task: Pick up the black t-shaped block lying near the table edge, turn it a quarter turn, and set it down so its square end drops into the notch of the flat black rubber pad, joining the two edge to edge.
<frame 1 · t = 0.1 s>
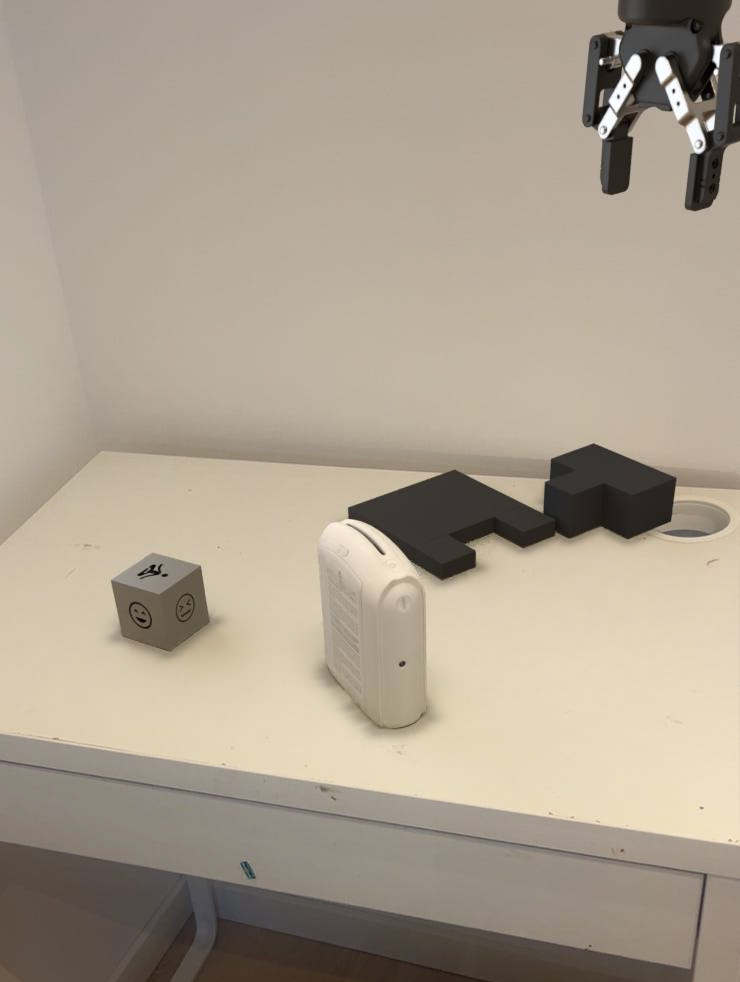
hand: (655, 200, 87), 25 cm above the table, tool pointing down, fingers open, 8 cm apart
dice cube: (166, 630, 93), on the table
black t-shaped block: (608, 511, 102), on the table
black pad: (449, 529, 102), on the table
photo printer: (375, 694, 84), on the table
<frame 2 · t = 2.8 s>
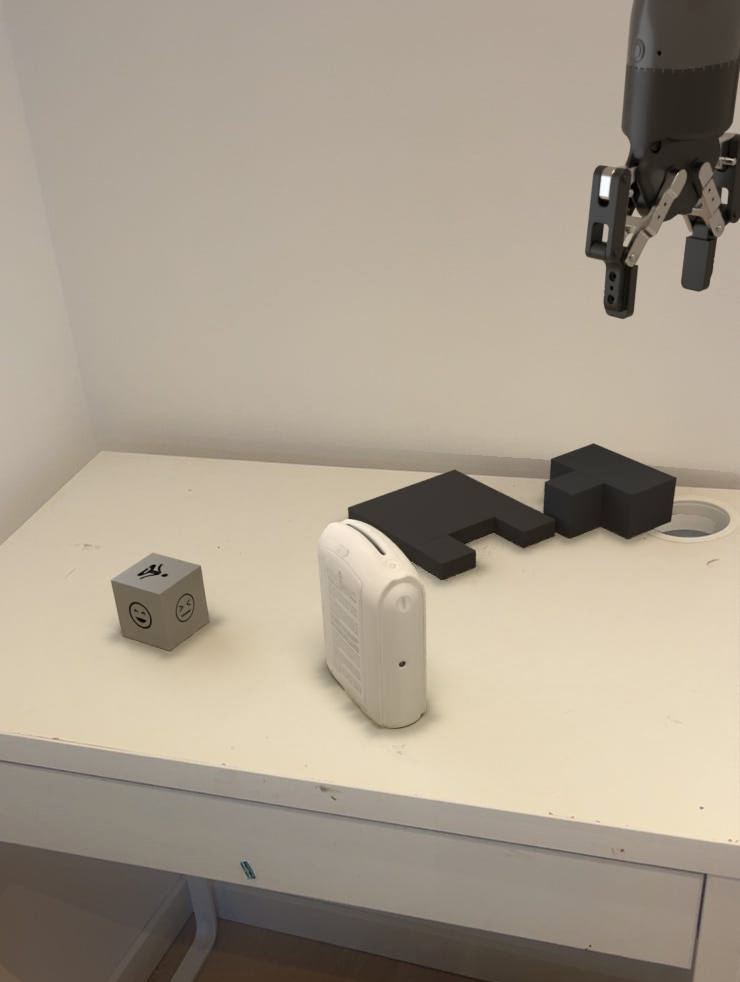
hand: (657, 302, 89), 18 cm above the table, tool pointing down, fingers open, 8 cm apart
nothing on the table moved.
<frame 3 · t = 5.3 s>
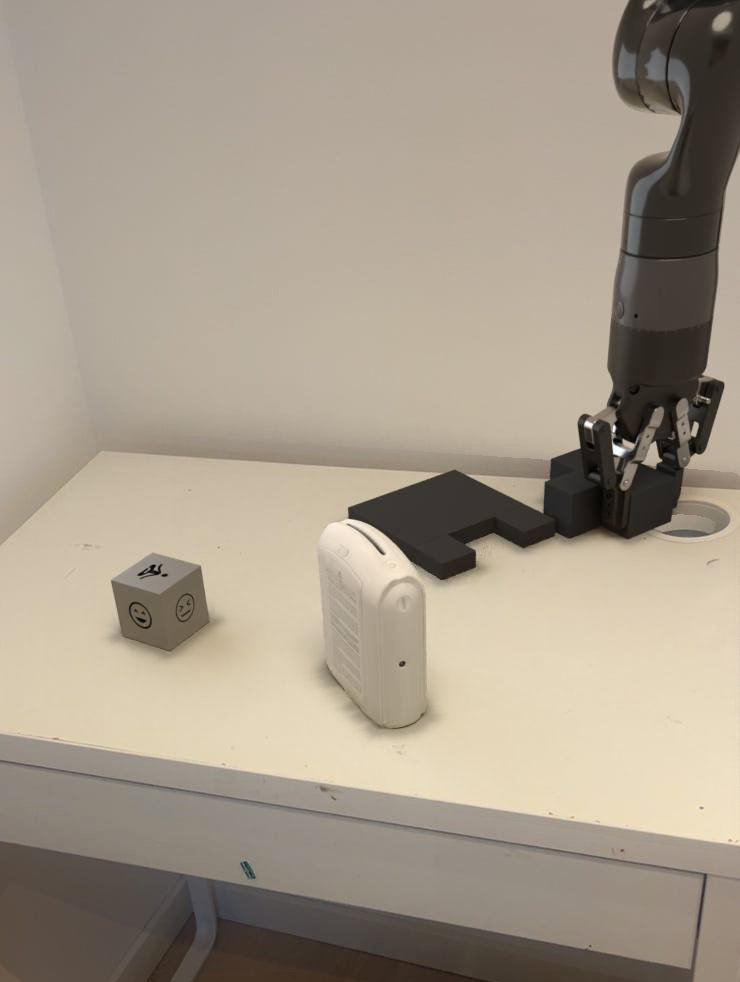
hand: (640, 515, 99), 1 cm above the table, tool pointing down, fingers closed on black t-shaped block, 5 cm apart
black t-shaped block: (608, 511, 102), on the table, touching gripper
everything else where it was.
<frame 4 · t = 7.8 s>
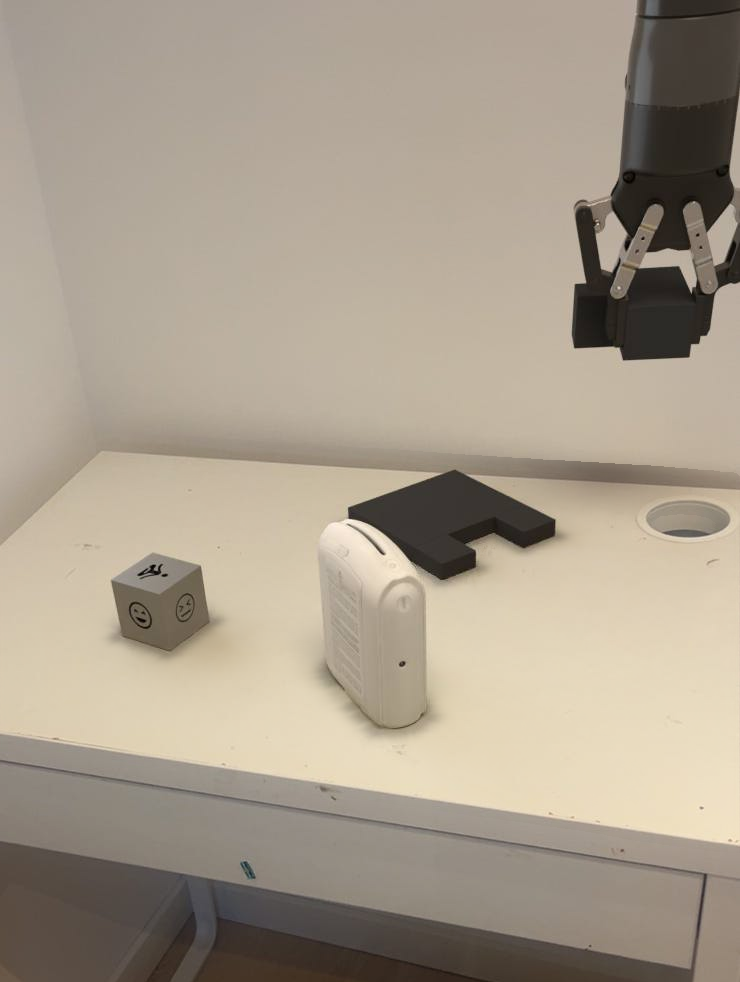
hand: (655, 341, 90), 15 cm above the table, tool pointing down, fingers closed on black t-shaped block, 5 cm apart
black t-shaped block: (649, 337, 94), point 14 cm above the table, touching gripper
everything else where it was.
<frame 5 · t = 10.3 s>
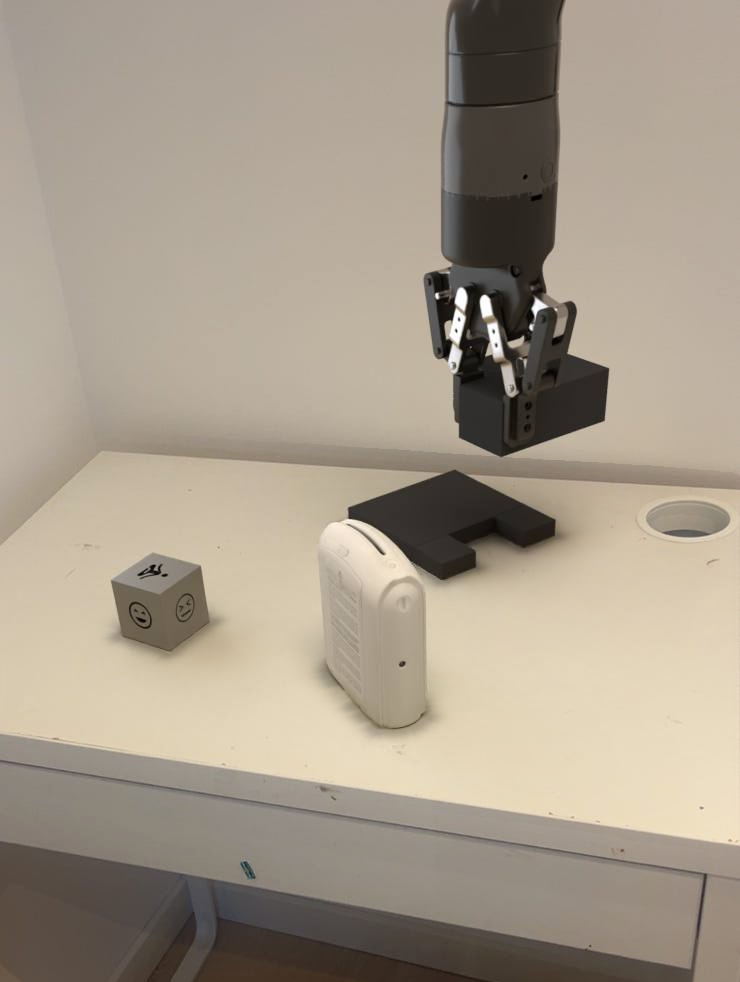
hand: (492, 431, 86), 13 cm above the table, tool pointing down, fingers closed on black t-shaped block, 5 cm apart
black t-shaped block: (531, 429, 88), point 12 cm above the table, touching gripper
everything else where it was.
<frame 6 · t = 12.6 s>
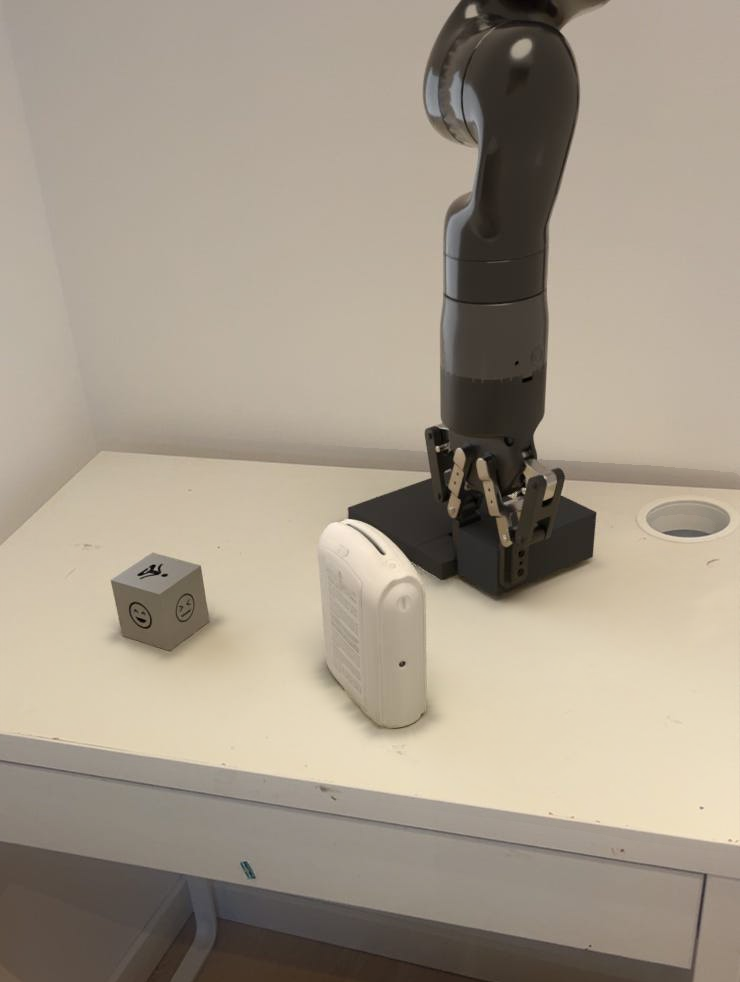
hand: (489, 570, 93), 1 cm above the table, tool pointing down, fingers closed on black t-shaped block, 5 cm apart
black t-shaped block: (525, 565, 95), point 1 cm above the table, touching gripper
everything else where it was.
when the fingers open (2 cm above the table, at t = 15.5 s): black t-shaped block stays where it is, on the table.
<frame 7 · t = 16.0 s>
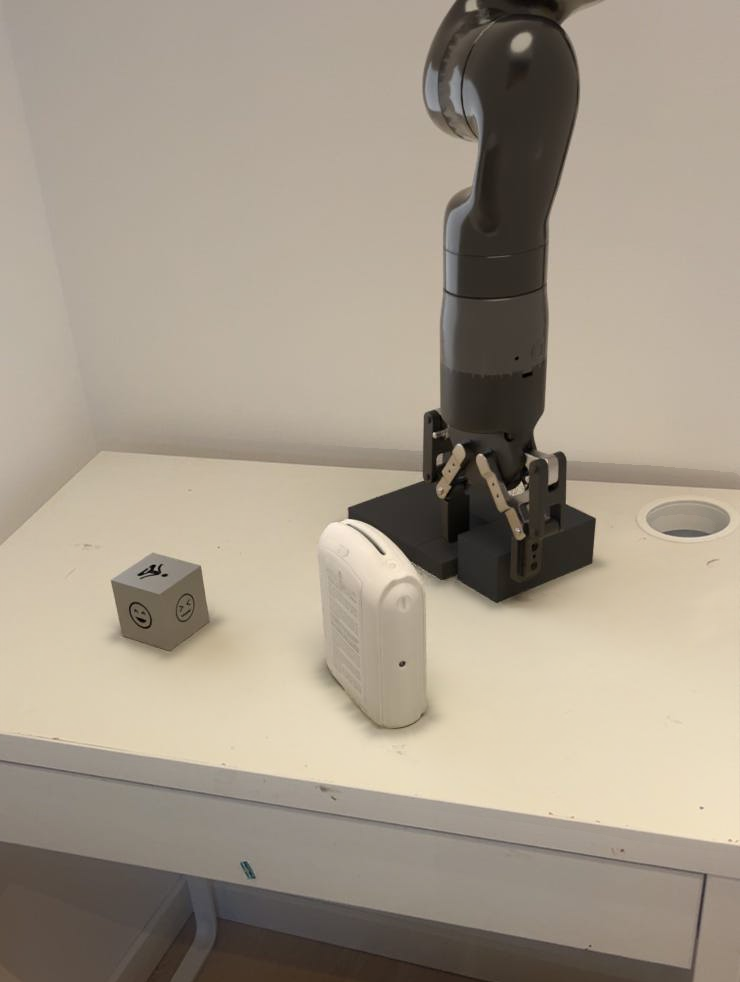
hand: (489, 558, 92), 2 cm above the table, tool pointing down, fingers open, 8 cm apart
black t-shaped block: (525, 571, 95), on the table
everything else where it was.
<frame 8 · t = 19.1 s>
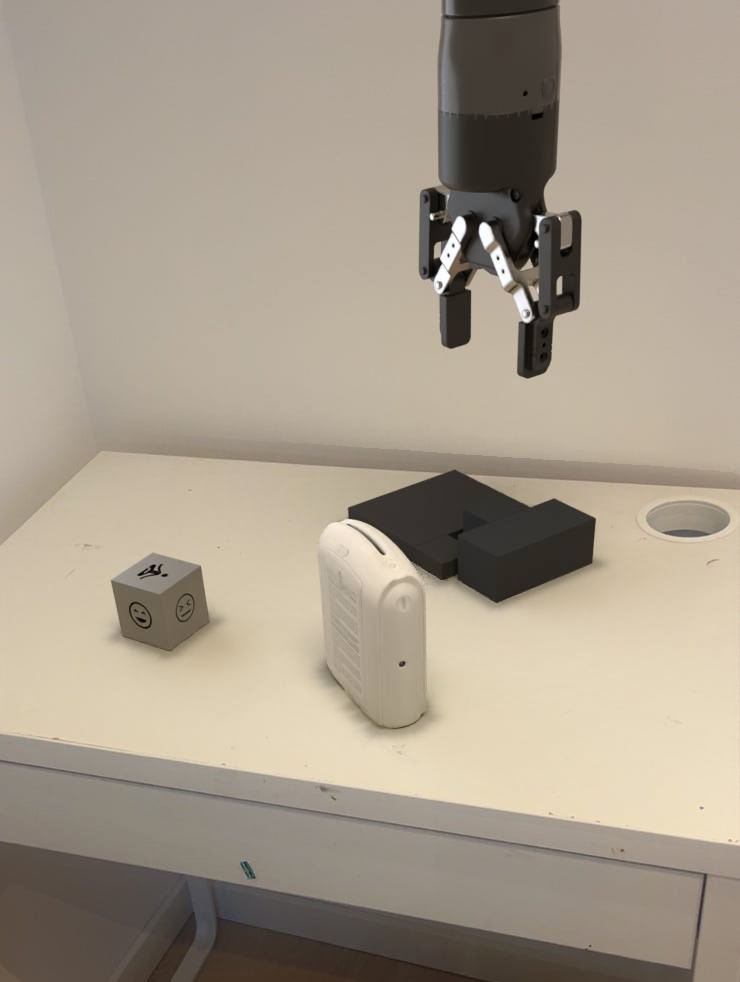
hand: (493, 359, 82), 18 cm above the table, tool pointing down, fingers open, 8 cm apart
nothing on the table moved.
at the end: black t-shaped block 0.1 cm from the target spot on the table beside the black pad, on the table; black t-shaped block tilted 0°; the gripper is holding nothing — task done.
